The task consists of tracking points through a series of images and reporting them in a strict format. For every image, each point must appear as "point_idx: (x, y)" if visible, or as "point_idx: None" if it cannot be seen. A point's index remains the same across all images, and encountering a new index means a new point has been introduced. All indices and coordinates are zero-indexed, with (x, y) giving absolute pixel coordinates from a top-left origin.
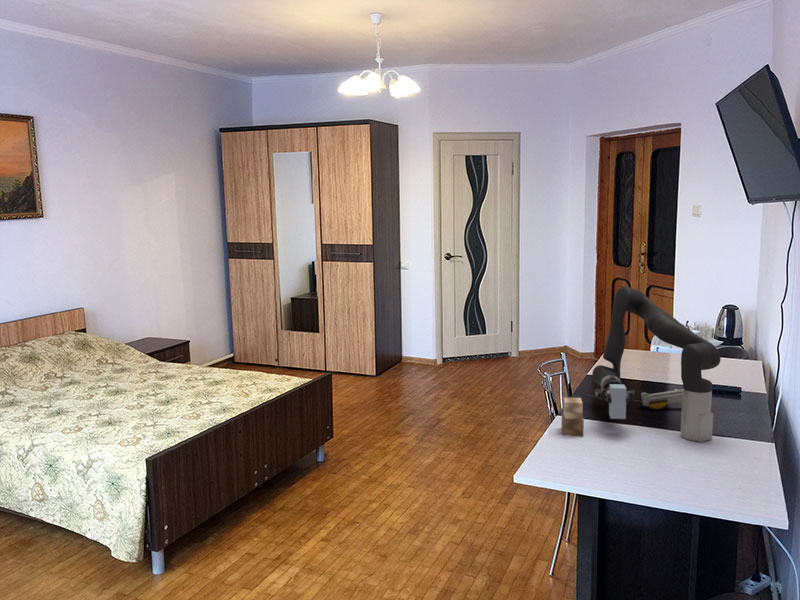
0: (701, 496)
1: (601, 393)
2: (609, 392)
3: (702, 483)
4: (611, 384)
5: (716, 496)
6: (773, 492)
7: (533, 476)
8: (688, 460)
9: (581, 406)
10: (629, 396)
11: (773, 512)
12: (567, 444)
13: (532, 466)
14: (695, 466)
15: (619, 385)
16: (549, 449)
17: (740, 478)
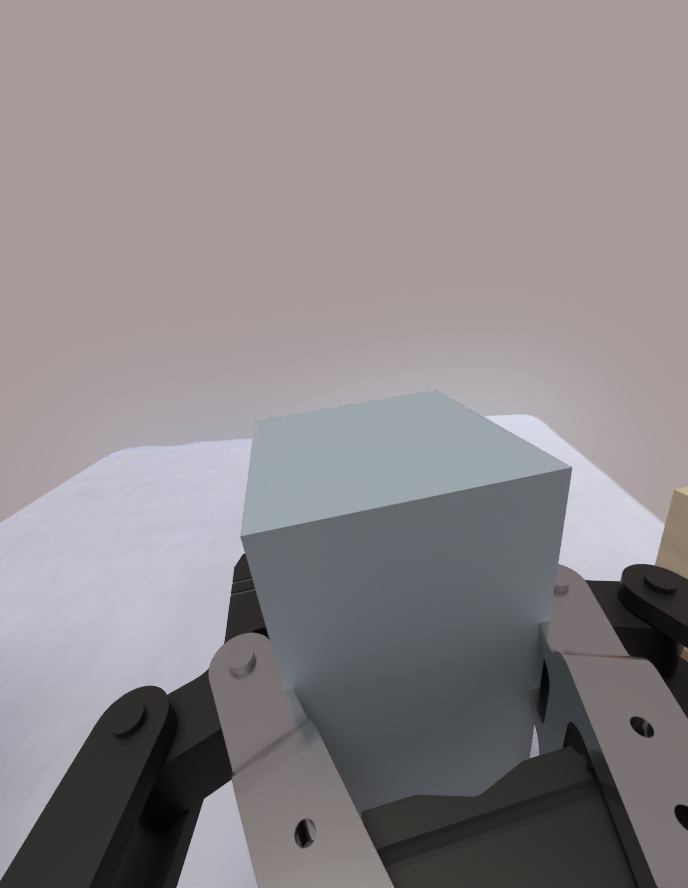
0: (200, 458)
1: (645, 566)
2: (537, 592)
3: (167, 489)
4: (519, 465)
5: (171, 465)
6: (33, 504)
7: (508, 418)
8: (114, 583)
9: (674, 513)
10: (204, 685)
11: (107, 460)
12: (580, 553)
13: (543, 434)
14: (122, 552)
15: (349, 466)
16: (596, 501)
17: (46, 532)
